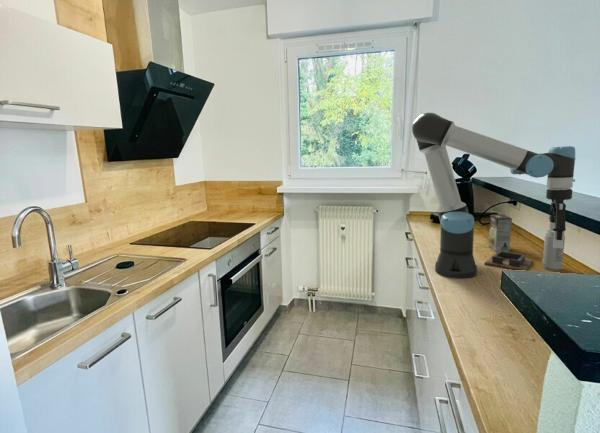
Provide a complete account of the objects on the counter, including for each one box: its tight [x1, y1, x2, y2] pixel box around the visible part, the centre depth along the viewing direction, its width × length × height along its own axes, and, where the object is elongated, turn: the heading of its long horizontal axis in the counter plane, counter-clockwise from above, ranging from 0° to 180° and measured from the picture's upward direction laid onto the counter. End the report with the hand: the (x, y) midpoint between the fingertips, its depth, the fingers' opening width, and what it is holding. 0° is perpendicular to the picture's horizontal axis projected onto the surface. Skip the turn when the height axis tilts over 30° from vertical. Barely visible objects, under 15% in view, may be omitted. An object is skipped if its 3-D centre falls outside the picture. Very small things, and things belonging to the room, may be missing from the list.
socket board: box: [483, 251, 534, 271], centre depth 131 cm, size 14×14×4 cm
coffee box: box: [488, 214, 513, 253], centre depth 149 cm, size 9×6×16 cm
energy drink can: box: [541, 229, 566, 271], centre depth 122 cm, size 6×6×15 cm
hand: (555, 243), depth 121 cm, fingers open, 13 cm apart
